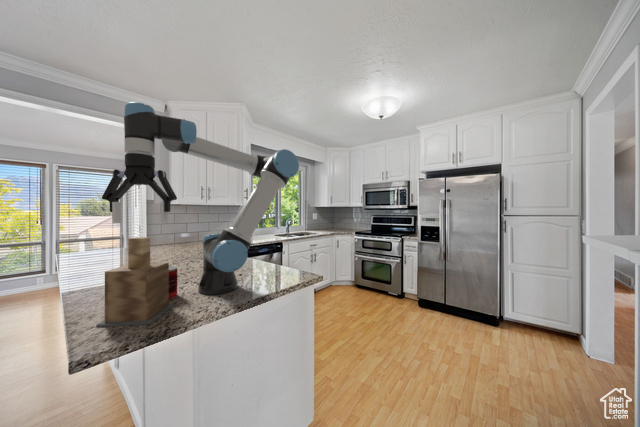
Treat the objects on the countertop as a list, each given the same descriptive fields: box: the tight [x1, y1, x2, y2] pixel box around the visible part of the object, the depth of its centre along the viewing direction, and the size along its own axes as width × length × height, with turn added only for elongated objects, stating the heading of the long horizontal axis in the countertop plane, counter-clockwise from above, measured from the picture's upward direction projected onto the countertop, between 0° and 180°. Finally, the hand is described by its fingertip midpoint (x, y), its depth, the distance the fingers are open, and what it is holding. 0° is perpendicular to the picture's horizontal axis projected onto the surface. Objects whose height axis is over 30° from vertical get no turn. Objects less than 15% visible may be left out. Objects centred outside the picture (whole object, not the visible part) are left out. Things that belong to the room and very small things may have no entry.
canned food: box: [169, 265, 178, 300], centre depth 90 cm, size 8×8×11 cm
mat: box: [95, 303, 175, 328], centre depth 75 cm, size 14×14×1 cm
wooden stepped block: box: [104, 236, 170, 323], centre depth 75 cm, size 12×12×24 cm
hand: (140, 222), depth 75 cm, fingers open, 13 cm apart
